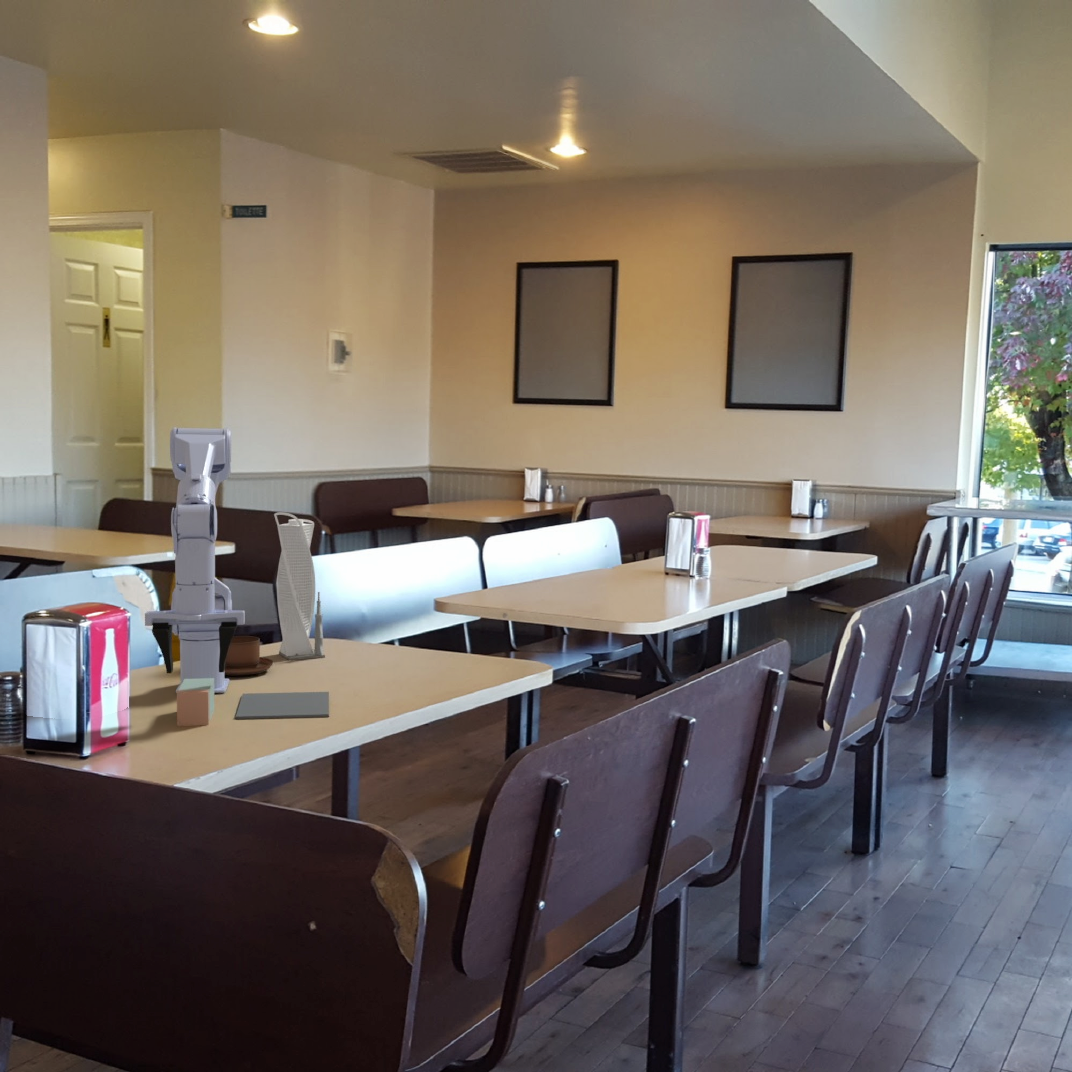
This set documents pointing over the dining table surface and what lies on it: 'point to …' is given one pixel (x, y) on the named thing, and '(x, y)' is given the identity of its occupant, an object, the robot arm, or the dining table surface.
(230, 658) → the cup and saucer
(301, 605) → the skyscraper
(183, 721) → the green and orange block
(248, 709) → the rubber mat
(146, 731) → the dining table surface
